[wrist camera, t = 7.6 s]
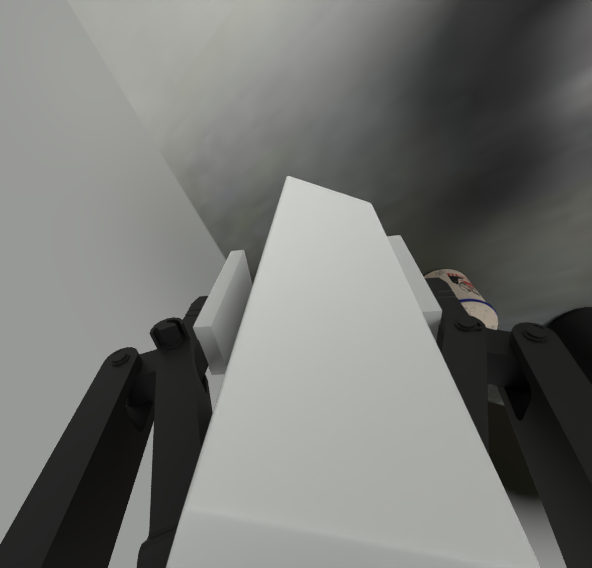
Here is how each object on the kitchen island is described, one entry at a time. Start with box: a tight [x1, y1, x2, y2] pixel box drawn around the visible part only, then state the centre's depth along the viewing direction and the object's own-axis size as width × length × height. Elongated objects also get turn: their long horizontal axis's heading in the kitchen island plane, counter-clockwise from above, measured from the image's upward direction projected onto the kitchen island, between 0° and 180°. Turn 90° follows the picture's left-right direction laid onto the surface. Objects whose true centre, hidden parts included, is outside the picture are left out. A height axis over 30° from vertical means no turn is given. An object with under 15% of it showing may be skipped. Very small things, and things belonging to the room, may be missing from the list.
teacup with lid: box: [424, 269, 498, 330], centre depth 43 cm, size 12×9×12 cm
